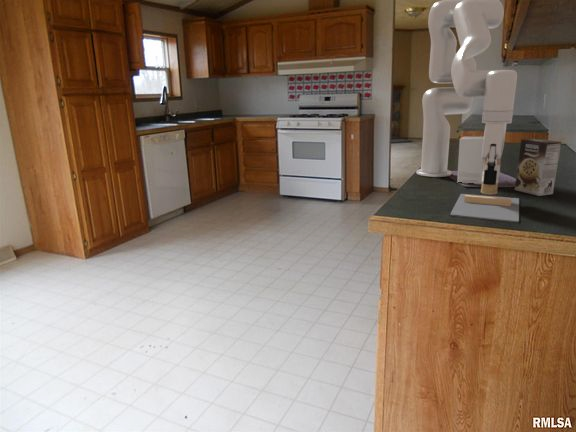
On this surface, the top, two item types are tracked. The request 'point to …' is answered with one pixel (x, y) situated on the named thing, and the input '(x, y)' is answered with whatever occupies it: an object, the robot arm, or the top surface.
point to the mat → (487, 208)
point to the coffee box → (537, 166)
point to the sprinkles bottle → (490, 188)
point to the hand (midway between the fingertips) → (490, 181)
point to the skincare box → (470, 160)
